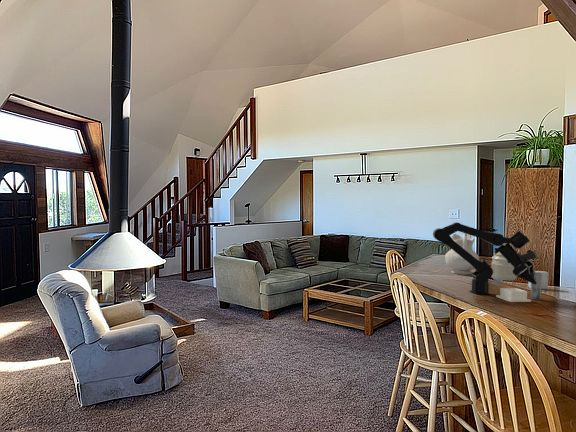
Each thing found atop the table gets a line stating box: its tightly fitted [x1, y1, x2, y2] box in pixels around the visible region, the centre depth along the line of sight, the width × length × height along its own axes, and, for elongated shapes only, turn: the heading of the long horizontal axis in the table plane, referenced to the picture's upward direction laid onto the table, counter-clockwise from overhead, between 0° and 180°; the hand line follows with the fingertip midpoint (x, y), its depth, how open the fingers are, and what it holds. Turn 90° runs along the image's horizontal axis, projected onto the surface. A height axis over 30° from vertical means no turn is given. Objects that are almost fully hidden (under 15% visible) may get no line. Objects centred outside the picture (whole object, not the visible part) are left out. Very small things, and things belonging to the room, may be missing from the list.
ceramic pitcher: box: [444, 233, 480, 276], centre depth 268 cm, size 22×20×25 cm
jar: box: [490, 252, 517, 281], centre depth 253 cm, size 13×13×18 cm
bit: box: [529, 272, 542, 301], centre depth 197 cm, size 4×4×12 cm
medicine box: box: [527, 270, 550, 290], centre depth 225 cm, size 8×4×9 cm, turn 84°
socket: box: [495, 287, 532, 303], centre depth 196 cm, size 10×10×4 cm
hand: (537, 282), depth 197 cm, fingers open, 9 cm apart
